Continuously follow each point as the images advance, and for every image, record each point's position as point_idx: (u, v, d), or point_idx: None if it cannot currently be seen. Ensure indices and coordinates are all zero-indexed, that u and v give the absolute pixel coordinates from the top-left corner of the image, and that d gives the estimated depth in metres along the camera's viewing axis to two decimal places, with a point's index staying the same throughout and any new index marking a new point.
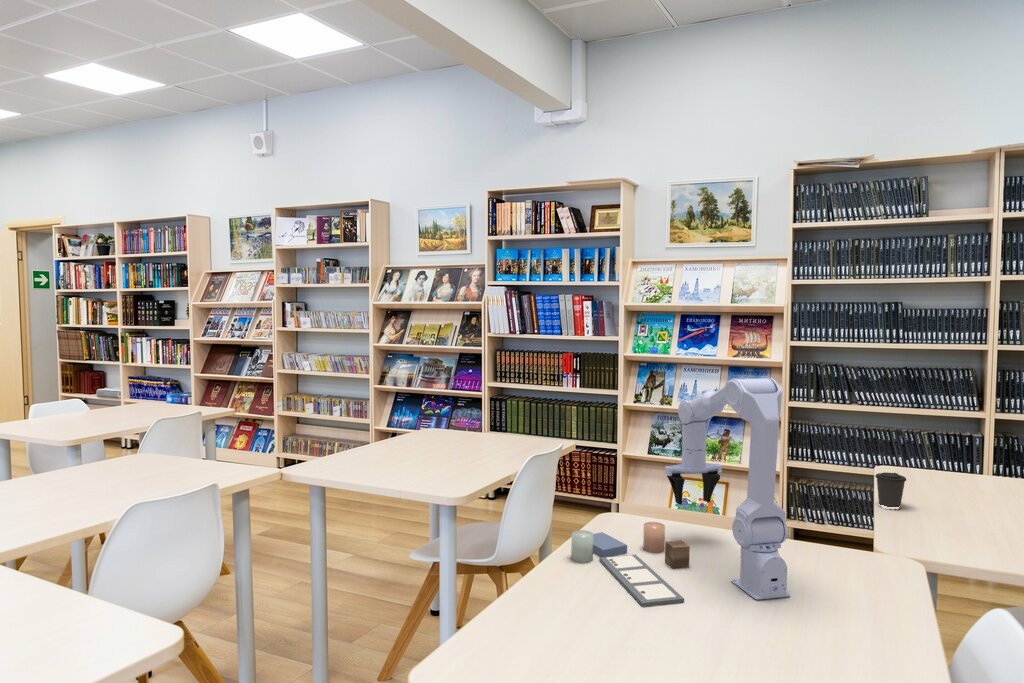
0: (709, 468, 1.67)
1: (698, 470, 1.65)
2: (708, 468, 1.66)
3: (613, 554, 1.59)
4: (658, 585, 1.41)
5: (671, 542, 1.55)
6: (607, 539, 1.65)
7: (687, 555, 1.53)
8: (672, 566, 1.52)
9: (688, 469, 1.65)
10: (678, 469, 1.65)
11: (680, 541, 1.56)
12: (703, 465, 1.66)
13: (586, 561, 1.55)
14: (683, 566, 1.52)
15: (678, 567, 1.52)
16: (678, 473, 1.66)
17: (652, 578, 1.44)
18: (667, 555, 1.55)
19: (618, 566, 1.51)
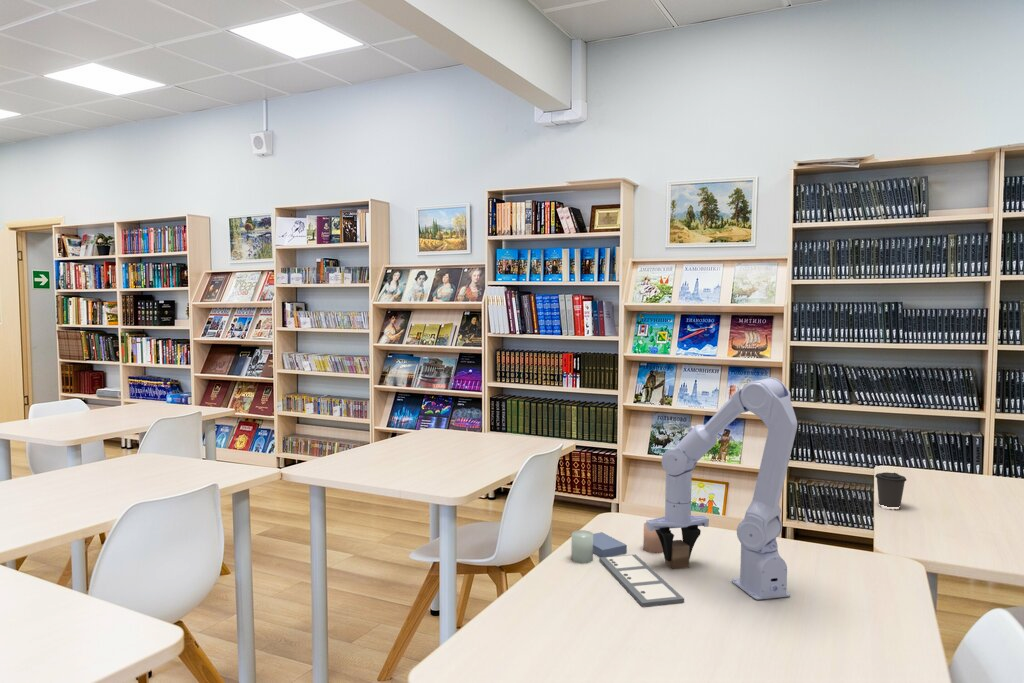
0: (695, 522, 1.52)
1: (682, 525, 1.51)
2: (693, 522, 1.52)
3: (613, 554, 1.59)
4: (658, 585, 1.41)
5: None
6: (607, 539, 1.65)
7: (687, 555, 1.53)
8: (672, 566, 1.52)
9: (672, 524, 1.51)
10: (661, 524, 1.51)
11: (680, 541, 1.56)
12: (688, 519, 1.52)
13: (586, 561, 1.55)
14: (683, 566, 1.52)
15: (678, 567, 1.52)
16: (661, 528, 1.52)
17: (652, 578, 1.44)
18: None
19: (618, 566, 1.51)
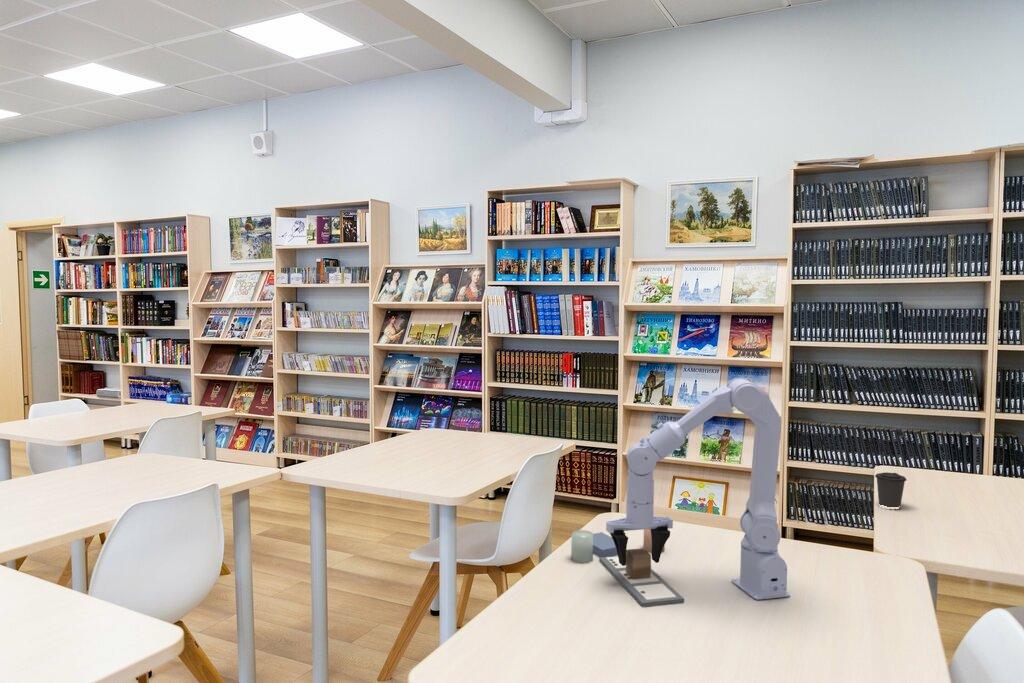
0: (657, 524, 1.44)
1: (644, 527, 1.42)
2: (656, 524, 1.43)
3: (612, 554, 1.59)
4: (658, 585, 1.41)
5: (632, 550, 1.47)
6: (607, 539, 1.65)
7: (648, 564, 1.44)
8: (632, 576, 1.44)
9: (632, 525, 1.42)
10: (621, 525, 1.42)
11: (642, 549, 1.47)
12: (650, 520, 1.43)
13: (586, 561, 1.55)
14: (644, 576, 1.44)
15: (639, 577, 1.44)
16: (621, 530, 1.44)
17: (652, 578, 1.44)
18: (627, 564, 1.46)
19: (618, 566, 1.51)
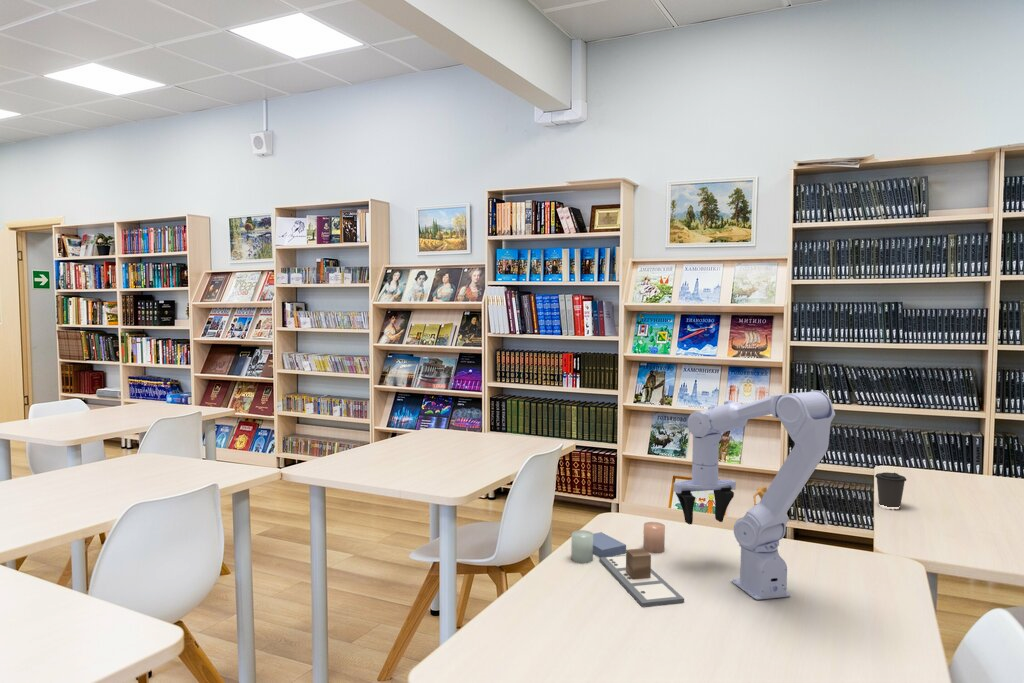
0: (722, 485, 1.52)
1: (710, 487, 1.51)
2: (721, 485, 1.52)
3: (612, 554, 1.59)
4: (658, 585, 1.41)
5: (632, 550, 1.47)
6: (606, 539, 1.65)
7: (648, 564, 1.44)
8: (632, 576, 1.44)
9: (699, 486, 1.51)
10: (688, 486, 1.51)
11: (642, 549, 1.47)
12: (715, 481, 1.51)
13: (586, 561, 1.55)
14: (644, 576, 1.44)
15: (639, 577, 1.44)
16: (688, 490, 1.52)
17: (652, 578, 1.44)
18: (627, 564, 1.46)
19: (618, 566, 1.51)
